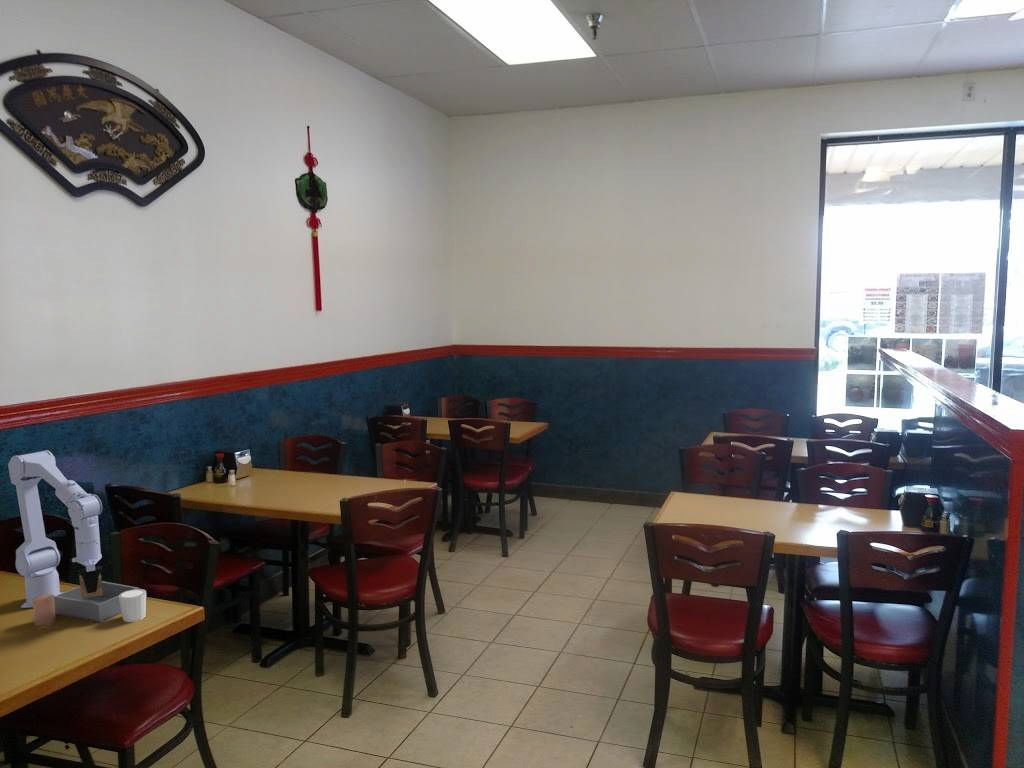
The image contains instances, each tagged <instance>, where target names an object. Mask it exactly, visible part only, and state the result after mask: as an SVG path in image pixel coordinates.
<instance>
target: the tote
mask: <svg viewBox="0 0 1024 768" xmlns="http://www.w3.org/2000/svg"><path fill="white" fill-rule="evenodd" d="M134 589H140V587H139V586H132V585H131V586H130V585H125V584H121V583H115V582H108V581H104V580H102V593H103V595H101V596H95V597H90V598H85V599H82V598H81V590H80V585H79V586H77V587H74V588H72V589H69V590H66V591H64V592H63V593H61V594H58V595H56V596H54V603H55V615H60V614H61V615H60V616H65V615H66V616H65V617H69V616H71V618H74V617H76V619H79V618H80V620H84V619H87V620H86V621H89V620H92V621H91V622H94V621H97V622H96V623H99V622H100V623H102V622H101V621H103V620H105V621H106V619H107V620H108V618H109V619H111V618H113V616H114V617H116V616H118V615H119V613H120V614H122V613H121V606H120V601H119V595H120V594H121V593H123V592H125V591H128V590H134ZM117 614H118V615H117ZM115 615H116V616H115ZM110 617H111V618H110ZM81 618H82V619H81ZM103 622H104V621H103Z"/></svg>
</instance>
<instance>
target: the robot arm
mask: <svg viewBox="0 0 1024 768" xmlns="http://www.w3.org/2000/svg"><path fill="white" fill-rule="evenodd" d="M7 465H8V473H9V479H10V483H11V484H12V485H15V488H16V495H17V501H18V506H19V513H20V518H21V524H22V525H21V526H22V530H23V531H22V532H23V536H24V542H23V543H22V544H20V546H18V548H16V550H15V569H16V571H17V572H18V574H20V576H22V577H24V587H25V599H26V601H24V603H23V604H22V605H21V606H20V609H26V608H27V609H28V608H33V602H32V599H33V598H34V597H36V596H38V595H42V594H53V595H54V596H56V595H58V594H61V593H64V592H63V591H62V592H61V588H60V587H61V586H60V578H59V577H60V575H59V572H58V571H57V566H59V564H60V561H61V554H60V551H59V549H58V548H57V544H56V542H55V540H52V539H50V538H48V537H46V531H45V530H46V529H45V525H44V524H45V523H44V520H43V519H44V518H43V514H42V512H43V511H42V507H41V506H42V505H41V501H40V495H39V489H38V484H39V482H40V481H41V479H42V480H44V481H45V482H46V483H48V485H50V486H52V487H53V488H54V489H55V493H54V494H55V496H56V497H57V499H59V500H60V501H61V502H62V503H63V504H64V505H65V506H66V507H67V512H68V516H69V517H70V519H71V520H70V521H71V524H72V527H74V538H75V549H76V557H73V558H72V559H71V561H72V563H76V564H77V566H78V567H79V568H78V569H77V571H78V572H77V573H78V574H79V575H81V576H82V578H83V580H84V583H85V587H86V590H87V593H93V592H96V591H97V585H98V578H99V575H100V574H101V572H102V570H103V566H102V565H100V562H101V559H102V557H103V556H102V553H101V551H102V550H101V540H100V527H99V515H101V514H102V511H103V504H102V500H101V499H100V497H99V496H98V495H97V494H92V493H87V492H86V491H85V490H84V489H83V488H82V487H81V486H80V485H79V484H78V483H77V481H75V480H72V479H70V480H69V479H67V478H66V477H65V476H64V474H63V473H62V472H61V470H60V469H59V468H58V467H57V466H56V465H57V464H56V457H55V456H54V454H53V453H52V452H51V451H50V450H48V449H45V450H42V451H37V452H31V453H25V454H20V455H13V456H12V457H11V459H10V460H9V462H8V464H7Z"/></svg>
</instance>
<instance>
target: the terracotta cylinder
mask: <svg viewBox="0 0 1024 768" xmlns="http://www.w3.org/2000/svg"><path fill="white" fill-rule="evenodd" d="M32 602H33V607H32V610H33V611H32V613H33V623H34V626H35V627H36V626H37V627H43V626H47V625H51V624H53V622H54V623H55V622H56V621H57V619H56V618H57V617H56V614H55V603H54V595H53V594H42V595H38V596H36V597H34V598H33V599H32Z"/></svg>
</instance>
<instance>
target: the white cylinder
mask: <svg viewBox="0 0 1024 768" xmlns="http://www.w3.org/2000/svg"><path fill="white" fill-rule="evenodd" d="M119 601H120V606H121V612H122V613H121V615H122V616H121V617H122V621H123V620H124V621H127V622H126V623H134V622H133V621H135V622H138V620H139V621H141V620H143V619H145V618H144V617H146V615H147V614H146V613H147V612H146V610H147V609H146V608H147V607H146V606H147V590H145V589H143V588H139V589H134V590H128V591H125V592H123V593H121V594H120V595H119ZM124 621H123V622H124Z"/></svg>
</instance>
